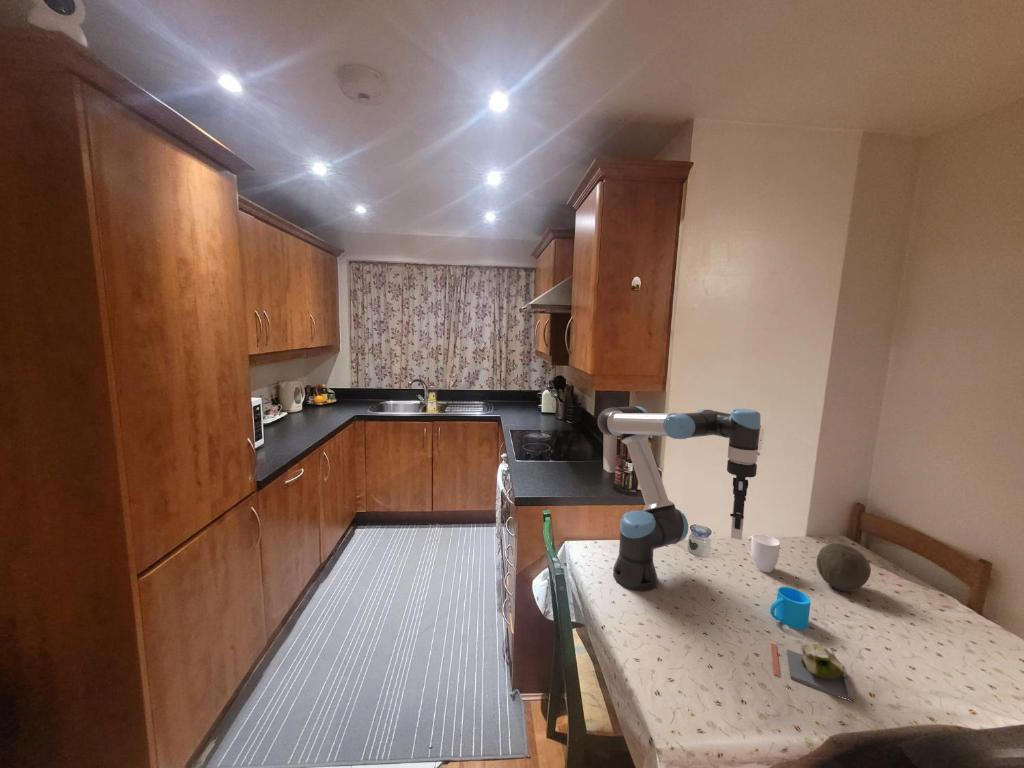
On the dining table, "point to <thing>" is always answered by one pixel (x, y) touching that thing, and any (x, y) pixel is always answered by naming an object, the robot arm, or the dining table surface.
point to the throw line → (775, 660)
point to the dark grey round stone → (843, 567)
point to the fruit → (821, 661)
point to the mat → (818, 678)
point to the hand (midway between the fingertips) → (736, 529)
